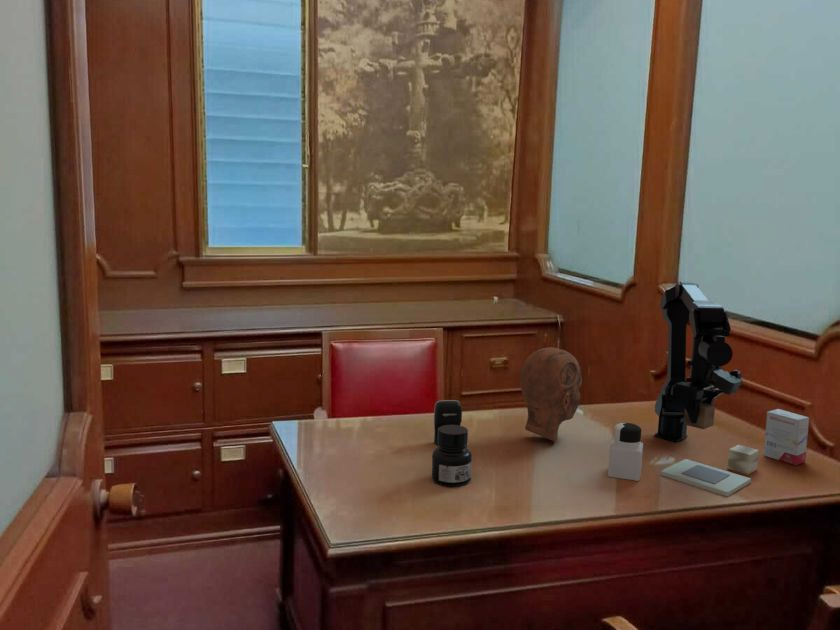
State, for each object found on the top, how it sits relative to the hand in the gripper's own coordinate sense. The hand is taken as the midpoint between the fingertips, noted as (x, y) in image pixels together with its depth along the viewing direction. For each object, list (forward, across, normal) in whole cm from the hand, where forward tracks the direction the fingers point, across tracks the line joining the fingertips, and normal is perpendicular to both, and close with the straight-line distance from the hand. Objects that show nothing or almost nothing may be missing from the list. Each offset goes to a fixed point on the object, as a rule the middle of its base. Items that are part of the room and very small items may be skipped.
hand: (698, 420), depth 179 cm
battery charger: (+12, -35, +50) cm, 62 cm away
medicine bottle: (+12, -17, +9) cm, 23 cm away
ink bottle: (+12, -51, +33) cm, 62 cm away
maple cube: (+12, +8, -8) cm, 16 cm away
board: (+12, -5, -5) cm, 14 cm away
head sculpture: (+11, -11, +35) cm, 38 cm away
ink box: (+12, +23, -12) cm, 29 cm away
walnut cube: (+1, 0, 0) cm, 1 cm away
